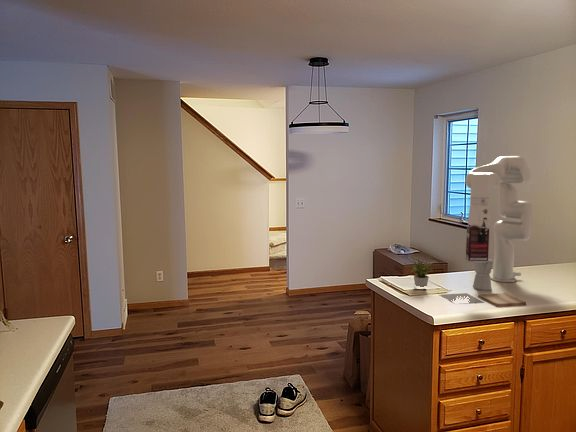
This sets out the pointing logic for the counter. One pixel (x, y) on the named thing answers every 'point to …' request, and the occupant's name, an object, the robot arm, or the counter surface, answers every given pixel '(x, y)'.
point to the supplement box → (476, 246)
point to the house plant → (421, 273)
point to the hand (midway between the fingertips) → (477, 241)
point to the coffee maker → (483, 275)
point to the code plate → (454, 296)
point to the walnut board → (501, 299)
